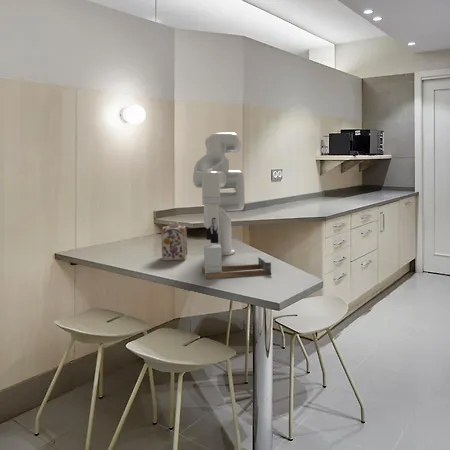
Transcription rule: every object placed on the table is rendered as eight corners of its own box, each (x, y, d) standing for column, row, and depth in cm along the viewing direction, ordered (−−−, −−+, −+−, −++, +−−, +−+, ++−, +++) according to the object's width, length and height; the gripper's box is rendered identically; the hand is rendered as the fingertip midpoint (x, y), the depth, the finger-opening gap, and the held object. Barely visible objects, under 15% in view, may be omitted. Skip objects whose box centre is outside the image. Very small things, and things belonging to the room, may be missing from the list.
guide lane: (201, 271, 220) (201, 260, 219) (262, 267, 225) (262, 256, 225) (206, 278, 208) (206, 267, 207) (270, 273, 214) (270, 262, 213)
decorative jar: (185, 260, 243) (184, 224, 240) (161, 261, 243) (160, 224, 240) (187, 255, 254) (186, 220, 252) (165, 255, 255) (163, 221, 252)
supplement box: (221, 272, 218) (220, 243, 216) (222, 276, 211) (221, 247, 209) (204, 272, 218) (203, 244, 216) (204, 277, 211) (203, 247, 209)
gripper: (199, 199, 217) (200, 238, 219) (206, 202, 200) (207, 244, 203) (216, 199, 219) (216, 237, 221) (224, 202, 202) (225, 243, 204)
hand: (212, 241), depth 212 cm, fingers open, 9 cm apart
